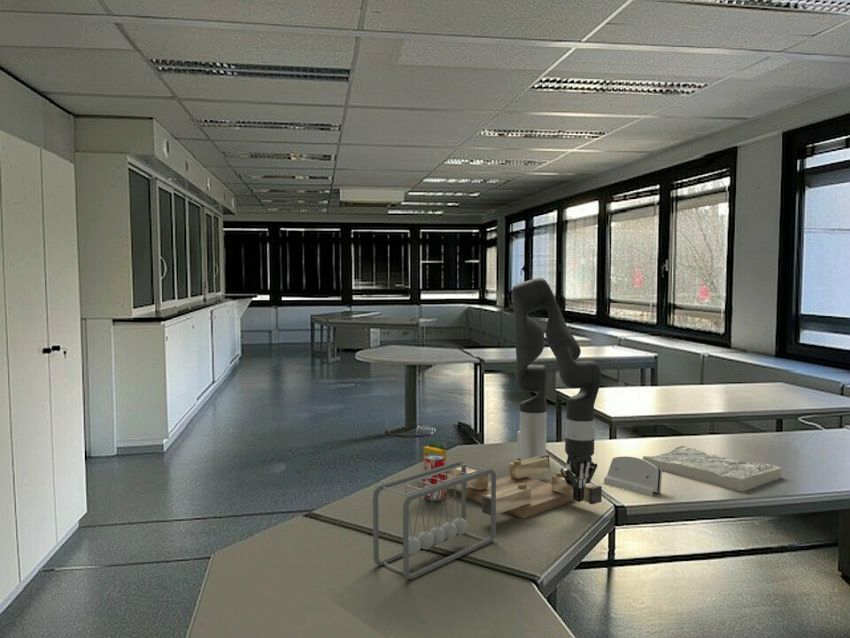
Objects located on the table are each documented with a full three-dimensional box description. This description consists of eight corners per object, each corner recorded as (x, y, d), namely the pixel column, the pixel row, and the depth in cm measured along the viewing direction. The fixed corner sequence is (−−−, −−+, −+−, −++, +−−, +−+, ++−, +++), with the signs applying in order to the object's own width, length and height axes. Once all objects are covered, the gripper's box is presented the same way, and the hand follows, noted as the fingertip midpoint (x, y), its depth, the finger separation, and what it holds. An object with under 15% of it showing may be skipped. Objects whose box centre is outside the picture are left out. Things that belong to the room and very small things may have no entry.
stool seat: (415, 495, 182) (415, 469, 181) (516, 467, 210) (516, 445, 209) (496, 528, 157) (496, 498, 157) (598, 491, 185) (599, 466, 185)
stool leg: (551, 490, 178) (551, 473, 178) (560, 487, 180) (560, 470, 180) (592, 504, 166) (592, 486, 166) (601, 501, 168) (601, 483, 168)
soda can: (434, 493, 184) (434, 452, 184) (450, 498, 180) (450, 456, 179) (419, 498, 180) (419, 456, 179) (435, 503, 175) (435, 461, 175)
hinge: (602, 483, 193) (608, 450, 195) (610, 485, 196) (617, 453, 198) (652, 496, 180) (659, 462, 182) (660, 498, 183) (666, 464, 185)
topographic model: (742, 493, 185) (742, 476, 184) (642, 466, 213) (642, 451, 212) (781, 479, 198) (781, 463, 198) (682, 455, 226) (683, 441, 226)
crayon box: (423, 477, 200) (423, 441, 199) (429, 475, 202) (429, 439, 201) (440, 482, 195) (440, 445, 194) (446, 479, 197) (446, 443, 196)
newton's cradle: (406, 583, 128) (405, 497, 127) (372, 567, 136) (371, 486, 135) (496, 540, 150) (497, 467, 149) (463, 529, 157) (463, 458, 156)
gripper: (574, 442, 159) (573, 509, 160) (607, 435, 167) (605, 499, 168) (552, 436, 165) (550, 501, 166) (584, 430, 173) (583, 492, 174)
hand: (578, 500), depth 167 cm, fingers closed
